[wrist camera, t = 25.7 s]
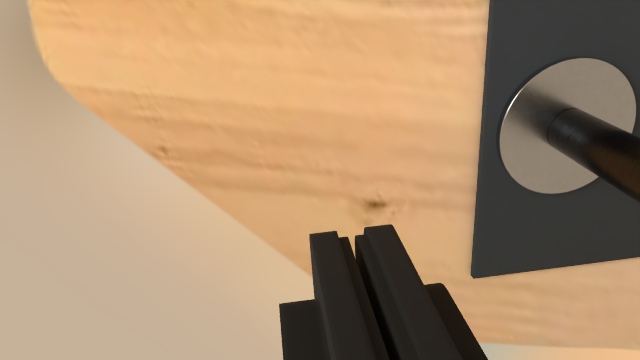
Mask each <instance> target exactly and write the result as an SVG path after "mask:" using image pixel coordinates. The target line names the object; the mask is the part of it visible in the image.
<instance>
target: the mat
mask: <svg viewBox="0 0 640 360" xmlns="http://www.w3.org/2000/svg"><path fill="white" fill-rule="evenodd" d="M573 56H585V57H592V58H596V59H599V60H603V61H605V62H608V63H610V64H612V65H613V66H615V67H616V68H618V69H619V70H620V71H621V72H622V73H623V74H624V75H625V77H626V78H627V79H628V81H629V82H630V85H631V87H632V89H633V92H634V95H635V101H636V118H635V124H634V128H633V131H632V134H633V135H635V136H637V137H639V138H640V0H490V6H489V20H488V35H487V49H486V64H485V78H484V92H483V107H482V121H481V135H480V150H479V164H478V179H477V193H476V207H475V222H474V236H473V251H472V265H471V276H472V277H473V278H482V277H489V276H497V275H505V274H512V273H520V272H528V271H535V270H543V269H551V268H558V267H566V266H574V265H581V264H589V263H597V262H604V261H612V260H620V259H627V258H635V257H640V203H639V202H637V201H636V200H634V199H633V198H631V197H630V196H628V195H626V194H625V193H623V192H622V191H620V190H619V189H617V188H616V187H614V186H612V185H611V184H609V183H608V182H606V181H605V180H603V179H602V178H600V177H598V178H597V179H595V180H594V181H592V182H590V183H589V184H587V185H585V186H583V187H580V188H578V189H575V190H572V191H569V192H564V193H556V194H547V193H539V192H535V191H532V190H529V189H527V188H525V187H523V186H521V185H520V184H519V183H517V182H516V181H515V180H514V179H513V178H512V177H511V176H510V175H509V174H508V173H507V172H506V170H505V169H504V167H503V166H502V164H501V161H500V159H499V156H498V152H497V145H496V133H497V126H498V122H499V119H500V115H501V113H502V111H503V108H504V106H505V104H506V103H507V101H508V99H509V97H510V96H511V95H512V93H513V92H514V90H515V89H516V88H517V87H518V86H519V85H520V84H521V82H523V81H524V80H525V79H526V78H527V77H528V76H529V75H531V74H532V73H533V72H535V71H536V70H537V69H539V68H541V67H543V66H544V65H546V64H549V63H551V62H553V61H556V60H559V59H563V58H567V57H573Z"/></svg>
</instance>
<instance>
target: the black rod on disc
mask: <svg viewBox="0 0 640 360" xmlns="http://www.w3.org/2000/svg"><path fill="white" fill-rule="evenodd" d="M635 118H636V101H635V95H634V92H633V89H632V87H631V85H630V82H629V81H628V79H627V78H626V77H625V75H624V74H623V73H622V72H621V71H620V70H619V69H618V68H616V67H615V66H613V65H612V64H610V63H608V62H605V61H603V60H599V59H596V58H592V57H585V56H573V57H567V58H563V59H559V60H556V61H553V62H551V63H549V64H546V65H544V66H543V67H541V68H539V69H537V70H536V71H535V72H533V73H532V74H531V75H529V76H528V77H527V78H526V79H525V80H524V81H523V82H521V84H520V85H519V86H518V87H517V88H516V89H515V90H514V92H513V93H512V95H511V96H510V97H509V99H508V101H507V103H506V104H505V106H504V108H503V111H502V113H501V115H500V119H499V122H498V126H497V133H496V145H497V152H498V156H499V159H500V161H501V164H502V166H503V167H504V169H505V170H506V172H507V173H508V174H509V175H510V176H511V177H512V178H513V179H514V180H515V181H516V182H517V183H519V184H520V185H521V186H523V187H525V188H527V189H529V190H532V191H535V192H539V193H547V194H556V193H564V192H569V191H572V190H575V189H578V188H580V187H583V186H585V185H587V184H589V183H590V182H592V181H594V180H595V179H597V178H598V177H600V178H602V179H603V180H605V181H606V182H608V183H609V184H611V185H612V186H614V187H616V188H617V189H619V190H620V191H622V192H623V193H625V194H626V195H628V196H630V197H631V198H633V199H634V200H636V201H637V202H639V203H640V138H639V137H637V136H635V135H633V134H632V131H633V128H634V124H635Z"/></svg>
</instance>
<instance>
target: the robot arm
mask: <svg viewBox="0 0 640 360" xmlns="http://www.w3.org/2000/svg"><path fill="white" fill-rule="evenodd" d="M309 236H310V250H311V262H312V274H313V285H314V297H315V299H313V300H305V301H297V302H290V303H283V304H279V308H280V322H281V334H282V348H283V359H284V360H488V359H487V357H486V355H485V354H484V352H483V350H482V349H481V347H480V345H479V343H478V342H477V340H476V338H475V337H474V335H473V333H472V331H471V330H470V328H469V326H468V325H467V323H466V321H465V319H464V318H463V316H462V314H461V312H460V311H459V309H458V307H457V306H456V304H455V302H454V300H453V299H452V297H451V295H450V294H449V292H448V290H447V289H446V287H445V286H444V285H443V284H441V283H435V284H428V285H424V284H423V282H422V281H421V279H420V277H419V275H418V273H417V271H416V269H415V267H414V265H413V263H412V261H411V259H410V257H409V256H408V254H407V252H406V250H405V248H404V246H403V244H402V242H401V240H400V238H399V236H398V234H397V232H396V230H395V229H394V227H393V225H391V224H390V225H381V226H373V227H365V228H364V235H357V236H355V256H354V253H353V250H352V247H351V245H350V242H349V239H348V237H341V238H339V237H338V234H337V231H331V232H323V233H314V234H310V235H309ZM355 257H356V259H355Z"/></svg>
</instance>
